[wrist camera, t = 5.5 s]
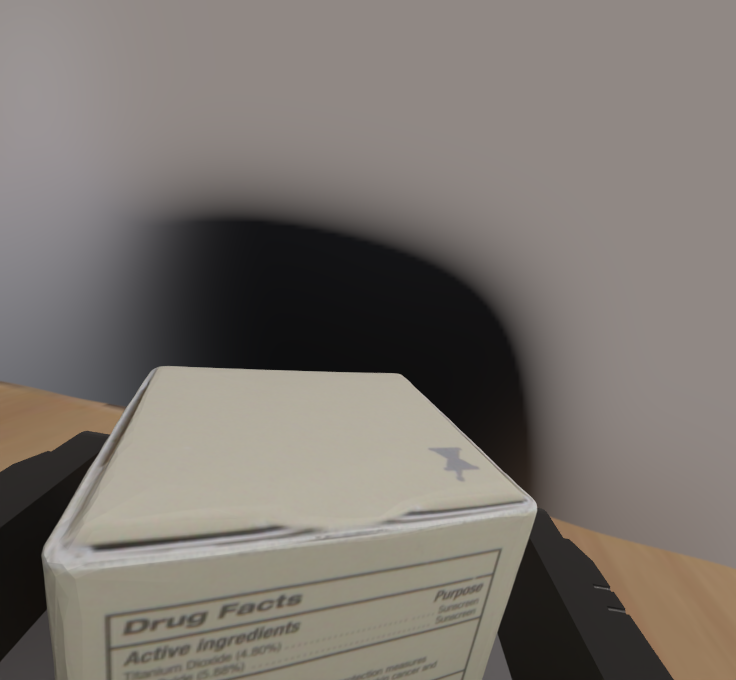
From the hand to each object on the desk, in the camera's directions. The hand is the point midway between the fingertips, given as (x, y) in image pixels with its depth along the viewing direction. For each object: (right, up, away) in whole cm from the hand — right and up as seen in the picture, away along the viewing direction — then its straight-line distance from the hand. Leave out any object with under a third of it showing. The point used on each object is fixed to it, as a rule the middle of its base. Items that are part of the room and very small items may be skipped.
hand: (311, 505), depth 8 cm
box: (-2, -8, 0) cm, 8 cm away
